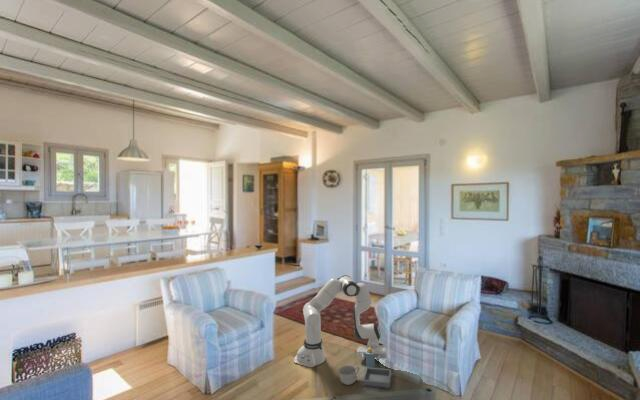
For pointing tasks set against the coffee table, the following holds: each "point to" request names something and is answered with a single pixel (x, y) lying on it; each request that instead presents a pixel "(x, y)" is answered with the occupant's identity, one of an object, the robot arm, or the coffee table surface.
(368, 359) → the shaker
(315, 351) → the robot arm
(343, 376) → the teacup
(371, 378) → the tray
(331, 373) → the coffee table surface
